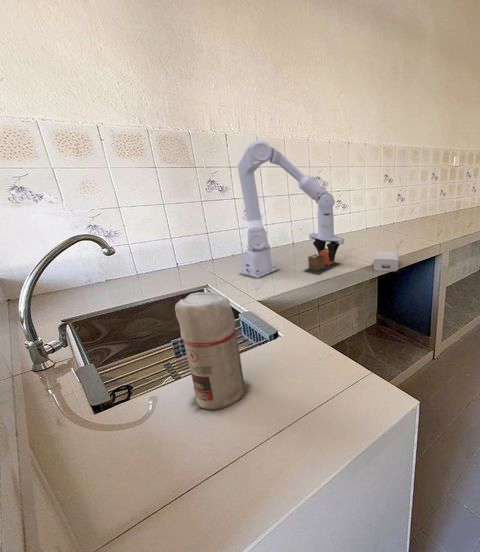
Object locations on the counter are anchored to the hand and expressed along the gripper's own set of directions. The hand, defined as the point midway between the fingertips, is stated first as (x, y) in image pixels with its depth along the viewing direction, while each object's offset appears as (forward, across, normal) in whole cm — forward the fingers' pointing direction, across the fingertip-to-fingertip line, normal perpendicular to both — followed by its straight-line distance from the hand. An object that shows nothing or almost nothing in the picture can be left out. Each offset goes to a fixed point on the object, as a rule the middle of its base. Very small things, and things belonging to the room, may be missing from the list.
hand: (327, 259), depth 128 cm
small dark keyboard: (+2, 0, +3) cm, 4 cm away
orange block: (+1, 0, 0) cm, 1 cm away
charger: (+2, -19, -12) cm, 23 cm away
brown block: (+2, 0, +6) cm, 7 cm away
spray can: (+2, -26, +68) cm, 72 cm away
